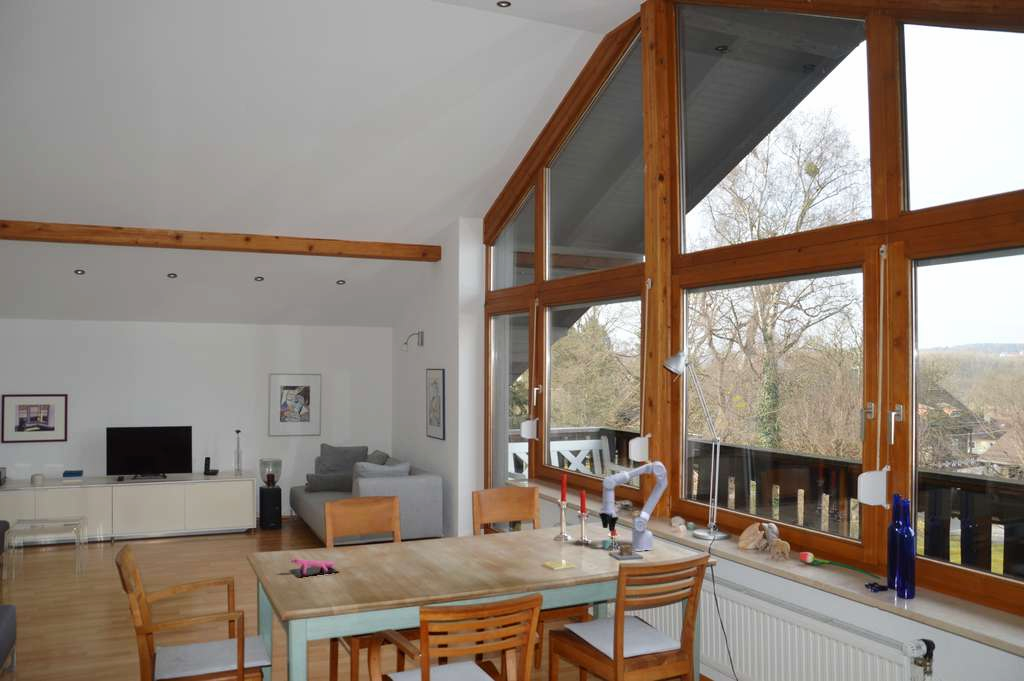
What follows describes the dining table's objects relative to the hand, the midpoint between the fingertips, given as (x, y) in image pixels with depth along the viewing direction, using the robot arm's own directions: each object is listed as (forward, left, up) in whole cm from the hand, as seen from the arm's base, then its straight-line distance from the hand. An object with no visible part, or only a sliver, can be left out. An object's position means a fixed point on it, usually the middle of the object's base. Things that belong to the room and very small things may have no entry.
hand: (608, 529), depth 406 cm
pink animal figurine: (+142, +8, -10) cm, 142 cm away
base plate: (-1, +18, -9) cm, 20 cm away
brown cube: (-1, +18, -8) cm, 20 cm away
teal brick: (0, 0, -10) cm, 10 cm away
